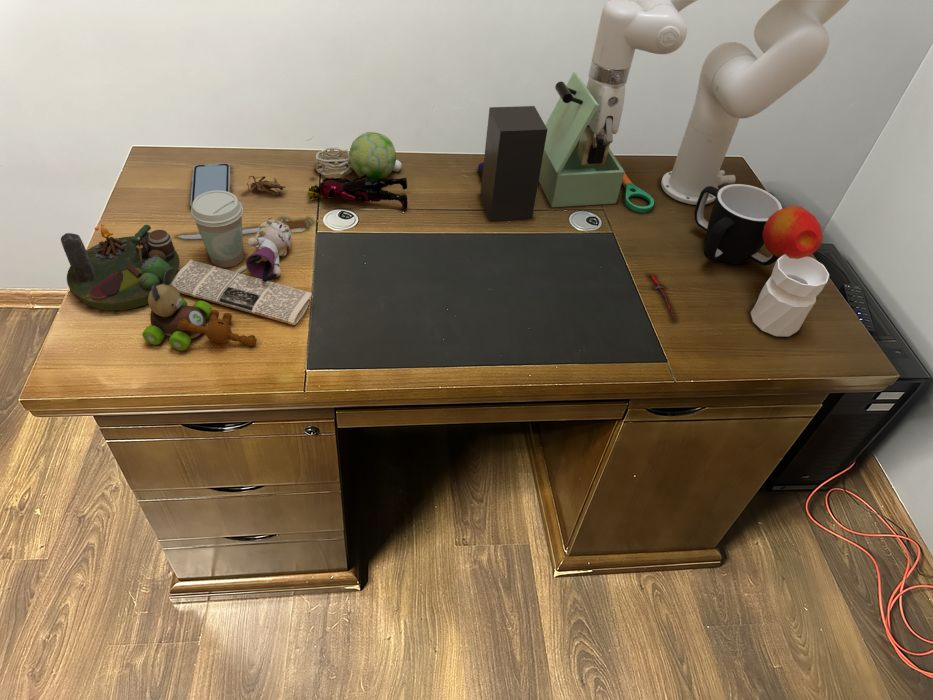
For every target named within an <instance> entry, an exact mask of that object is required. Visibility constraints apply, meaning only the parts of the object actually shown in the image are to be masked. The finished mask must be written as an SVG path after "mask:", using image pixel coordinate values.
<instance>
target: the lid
mask: <svg viewBox="0 0 933 700" xmlns="http://www.w3.org/2000/svg"><path fill="white" fill-rule="evenodd" d="M554 86H555V87H554V89H555V91H556V92H557V94H558V95H559V98H558V100H557V102H556V104H555V106H554V108H553V110H552V112H551V114H550V115H549V117H548V119H547V121H546V122H545V126H546V128H547V129H548V130H547V135H546V141H545V147H544V150H545V152H546V154H547V156H548V157H549V159H550V161H551V163H552V165H553V167H554V169H555V171H556V172H557V173H559V174H560V172H561V171H562V169H563V167H564V165H565V164H566V162H567V160H568V158H569V157H570V155H571V153H572V152H573V150H574V148H575V146H576V145H577V143H578V141H579V139H580V138H581V136H582V134H583V132H584V131H585V129H586V127H587V126H588V124H589V122H590V120H591V119H592V117H593V115H594V113H595V112H596V110H597V108H598V106H599V105H598V103H597V102H596V100H595V99H594V97H593V96H592V94H591V93H590V92H589V90H588V89H587V85H586V84H585V83H584V81H583V80H582V78H581V77H580V76H579V74H578V72H575V71H573V72H572V74H571V76H570V78H569V79H568V82H567V84H566V83H565V82H564V81H558V82H557V83H555V85H554Z"/></svg>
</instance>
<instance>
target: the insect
mask: <svg viewBox="0 0 933 700" xmlns="http://www.w3.org/2000/svg"><path fill="white" fill-rule="evenodd" d="M250 178H252V179H253V182H251V183H250V184H249V181H246V182H247V183H246V185H247V190H246V192H245V193H244V195H245V194H246V193H247V192H252V191H260V192H262V191H265V192H268V193H271V194H272V193H273V194H276V195H279V196H282V195H283V193H282V192H281V191H283V190H284V189H287V187H286V186H285V185H284V186H283V185H281V184H280V183H279V182H278V179H277V178H275V177H273V181H271V180H270V181H269V180H266V176H265V175H264V176H261V177H260V176H256V177H255V175H250V176H248V180H250ZM259 178H260V179H259ZM256 179H259V180H258V181H257V180H256ZM273 189H275V190H273ZM278 189H279V190H278Z"/></svg>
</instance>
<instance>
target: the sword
mask: <svg viewBox="0 0 933 700" xmlns="http://www.w3.org/2000/svg"><path fill="white" fill-rule="evenodd" d="M280 221H281V222H282V223H283V224H284V225H288V226H289V229H290V231H291V233H292V234H293V233H302V232H306V231H307V230H308V229H309V227H310V226H311V225H313V222H312V220H311V219H303V220H295V221H292V220H290V219H287V218H285V219H284V218H281V219H280ZM259 227H260V226H255V227H254V226H253V227H248V228H242V232H243V236H244V235H245V236H246V235H251V234H257V232H258V230H259ZM177 238H179V239H181V240H185V241H203V240H202V237H201V235H200V233H191V234H182V235H178V236H177Z"/></svg>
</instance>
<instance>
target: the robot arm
mask: <svg viewBox="0 0 933 700" xmlns="http://www.w3.org/2000/svg"><path fill="white" fill-rule="evenodd" d="M695 2H698V0H637V1H636V2H635V1H633V0H608V1H607V2H606V3H605V4H604V5H603V7H602V11H601V14H600V19H599V24H598V29H597V33H596V37H595V43H594V47H593V52H592V57H591V62H590V66H589V71H588V80H587V82H586V83H587V84H586V87H587V89H588V90H589V92H590V93H591V94H592V96H593V97H594V99H595V100H596V102H597V103H598V105H599V106H598V108H597V110H596V112H595V113H594V115H593V117H592V119H591V120H590V122H589V124H588V126H587V127H590V128H591V129H592V131H593V132H594V138H593V145H591V147H590V151H589V155H588V159H587V162H588V164H599V163H602V161H603V157H604V153H605V149H606V148H607V146H608V145H609V144H610V145H611V144H612V143H613V141H614V137H613V135H617V133H618V132H619V128H620V124H621V119H622V114H623V110H624V109H623V108H624V103H625V96H626V84H627V82H628V79H629V75H630V71H631V67H632V64H633V61H634V60H633V59H634V56H635V52H636V50H639V51H643V52H646V53H650V54H655V55H669V54H672V53H674V52H676V51H677V50H679V49H680V48H681V47H682V45H683V44H684V42H685V40H686V38H687V34H688V33H687V31H688V29H687V24H686V21H685V19H684V17H683V16H682V15H681V14H680V12H681V11H682V10H684V9H686V8H687V7H688V6H690V5H692V4H693V3H695ZM849 2H850V0H779V1H778V2H776V3H775V4H774V5H773V6H771V8H769V9H768V10H767V11H766V12H765V13H764V14H763V15H762V16H761V17H760V18H759V19H758V21H757V22H756V24H755V26H754V30H753V36H754V37H753V38H754V41H755V43H756V45H757V46H758V48H759V49H760V50H761V52H762V55H760V56H759V57H757V56H756V55H755V54H754V53H753V51H751V49H749V47H747V46H746V45H744V44H742V43H741V42H738V41H737V42H736V41H727V42H723V43H721V44H718V45H717V46H715V47H714V48H713V49H712V50H711V51H710V52H709V53H708V55H707V56H706V58H705V59H704V62H703V64H702V66H701V70H700V74H699V79H698V86H697V90H696V96H695V99H694V103H693V107H692V110H691V113H690V116H689V119H688V122H687V124H686V127H685V131H684V134H683V137H682V140H681V143H680V146H679V149H678V152H677V155H676V158H675V161H674V164H673V168H672V170H670V171H667V172H666V173H665V174H663V175H662V176H661V177H662V178H661V181H660V186H661V189H662V190H663V192H664V193H665V194H666V195H667V196H669V197H670V198H672V199H673V200H675V201H678V202H680V203H684V204H688V205H694V206H696V204H697V201H698V198H699V196H700V193H701V191H702V190H703V189H704V188H705V187H708V186H712V187H715V188H717V189H719V187H720V186H722V185H732V184H736V175H735V174H726V171H725V170H723V169H721V168H722V166H723V162H724V160H725V158H726V156H727V152H728V150H729V148H730V144H731V142H732V140H733V137H734V135H735V132H736V130H737V127H738V125H739V121H740V120H741V119H742V120H743V119H748V118H752V117H754V116H756V115H758V114H760V113H762V112H763V111H764V110H766V109H768V107H770V106H771V105H773V104H774V103H775V102H776V101H778V100H779V99H780V98H782V97H783V96H784V95H786V94H787V93H788V92H789V91H791V90H792V89H793V88H794V87H796V86H797V85H798V84H799V83H801V82H802V81H804V80H805V79H806V78H807V77H809V75H811V74H812V73H813V72H814V71H815V70H816V69H817V68H818V66H819V65H820V64H821V63H822V62H823V60H824V58H825V56H826V55H827V52H828V49H829V46H830V38H829V37H830V36H829V34H828V31H827V28H825V24H826V23H828V21H829V20H830V19H831V18H833V17H834V16H835V15H836V14H837V13H838V12H839V11H841V10H842V9H843V8H844V7H845V6H846V5H847V4H848V3H849ZM602 129H604V131H600V130H602ZM598 135H604V138H603V139H600V140H598ZM579 141H580V139H579ZM578 145H579V143H578ZM715 198H716V197H715V196H713V195H711V194H709V196H708V199H707V201H706V204H705V205H708V204H711V203H714V201H715Z"/></svg>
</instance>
